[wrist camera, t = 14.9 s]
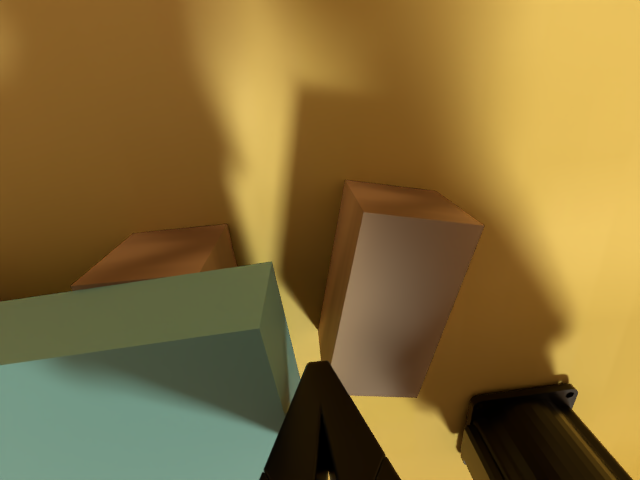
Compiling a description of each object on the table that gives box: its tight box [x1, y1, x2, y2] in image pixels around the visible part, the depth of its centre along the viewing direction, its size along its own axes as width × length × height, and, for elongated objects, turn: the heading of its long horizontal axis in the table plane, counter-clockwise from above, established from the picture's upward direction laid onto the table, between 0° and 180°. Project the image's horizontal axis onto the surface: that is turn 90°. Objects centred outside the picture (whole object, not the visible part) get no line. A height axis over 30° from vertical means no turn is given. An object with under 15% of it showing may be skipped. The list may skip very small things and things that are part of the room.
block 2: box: [318, 180, 484, 398], centre depth 13 cm, size 4×8×4 cm, turn 172°
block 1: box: [70, 224, 237, 291], centre depth 13 cm, size 4×8×4 cm, turn 5°
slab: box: [0, 262, 300, 480], centre depth 11 cm, size 18×9×3 cm, turn 98°
